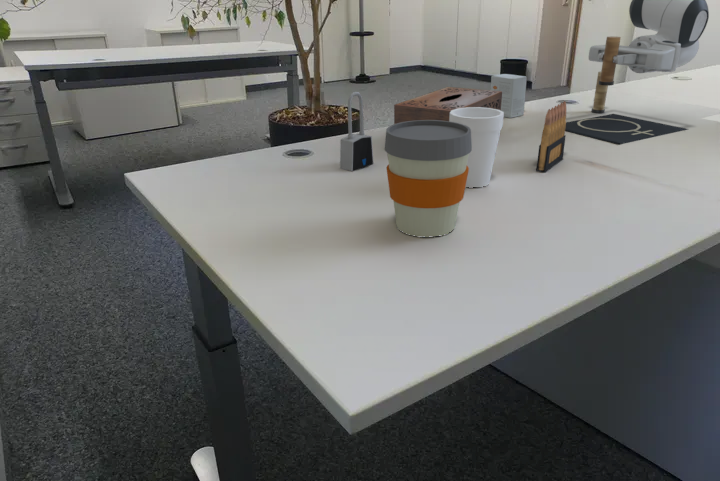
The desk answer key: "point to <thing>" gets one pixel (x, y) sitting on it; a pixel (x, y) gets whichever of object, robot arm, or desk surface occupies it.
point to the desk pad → (619, 128)
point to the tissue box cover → (445, 103)
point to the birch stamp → (599, 97)
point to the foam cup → (480, 140)
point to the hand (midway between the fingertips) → (607, 58)
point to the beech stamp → (609, 61)
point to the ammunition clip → (552, 138)
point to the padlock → (356, 143)
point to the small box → (510, 93)
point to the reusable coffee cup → (427, 174)
